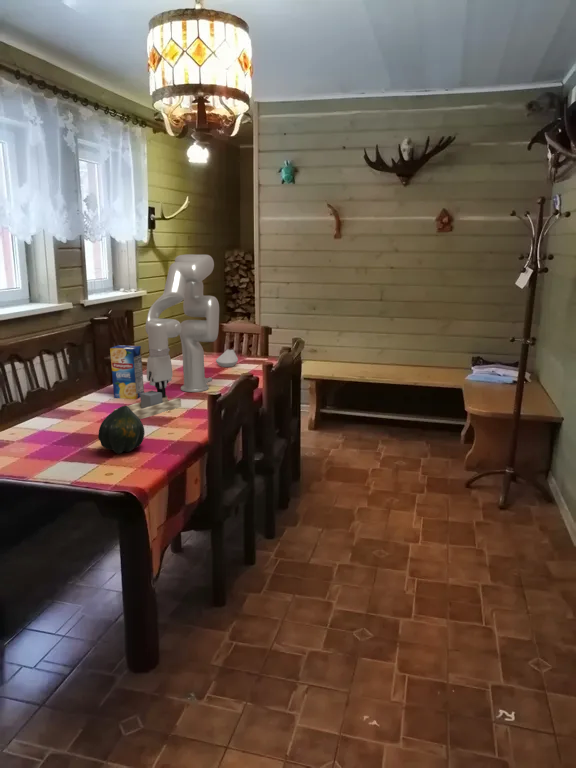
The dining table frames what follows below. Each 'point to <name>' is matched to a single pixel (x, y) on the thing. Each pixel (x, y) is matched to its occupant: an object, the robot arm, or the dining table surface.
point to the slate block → (150, 398)
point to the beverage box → (127, 371)
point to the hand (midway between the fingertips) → (161, 397)
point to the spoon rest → (227, 359)
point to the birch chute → (154, 408)
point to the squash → (121, 431)
